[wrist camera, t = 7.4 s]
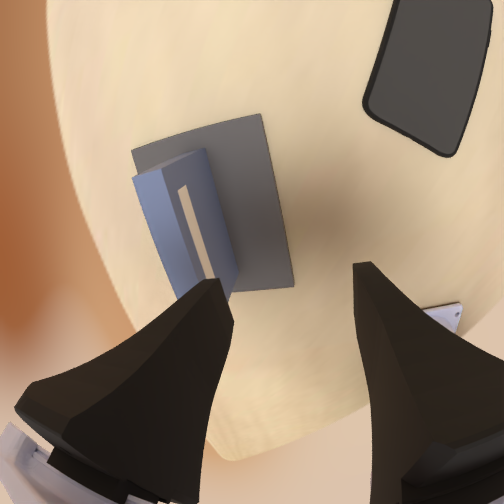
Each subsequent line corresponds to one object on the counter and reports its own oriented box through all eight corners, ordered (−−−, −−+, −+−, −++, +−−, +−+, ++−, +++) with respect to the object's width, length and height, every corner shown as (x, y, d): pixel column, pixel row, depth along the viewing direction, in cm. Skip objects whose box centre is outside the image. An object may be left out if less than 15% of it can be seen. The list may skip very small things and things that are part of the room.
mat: (294, 283, 20) (294, 286, 20) (184, 292, 23) (182, 295, 22) (260, 113, 15) (259, 113, 15) (134, 149, 17) (130, 150, 17)
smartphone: (357, 112, 14) (408, -57, 6) (354, 112, 15) (404, -52, 7) (454, 165, 14) (496, 0, 6) (448, 162, 15) (489, 2, 7)
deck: (239, 272, 20) (217, 330, 15) (218, 274, 21) (191, 330, 15) (205, 147, 16) (161, 168, 11) (181, 153, 17) (131, 177, 11)
